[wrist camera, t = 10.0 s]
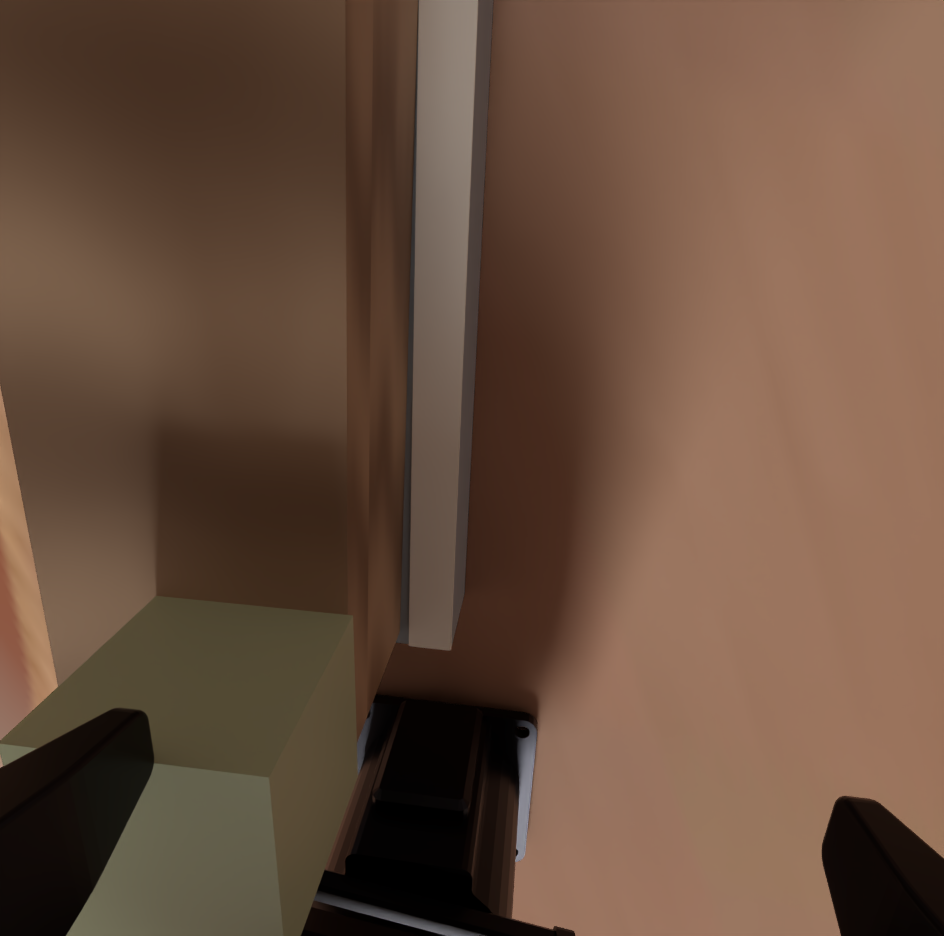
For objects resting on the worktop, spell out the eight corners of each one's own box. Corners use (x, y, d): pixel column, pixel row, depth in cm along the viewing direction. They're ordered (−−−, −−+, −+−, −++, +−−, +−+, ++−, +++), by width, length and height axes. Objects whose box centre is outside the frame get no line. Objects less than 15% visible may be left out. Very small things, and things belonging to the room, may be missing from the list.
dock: (464, 593, 22) (450, 650, 19) (200, 566, 22) (147, 617, 19) (519, -526, 13) (509, -744, 10) (85, -502, 14) (-40, -697, 11)
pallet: (400, 630, 19) (348, 765, 14) (184, 604, 19) (66, 725, 15) (437, -682, 10) (339, -1434, 6) (51, -661, 11) (-329, -1327, 6)
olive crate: (358, 776, 14) (287, 974, 10) (179, 754, 15) (49, 937, 11) (353, 615, 13) (268, 778, 9) (156, 595, 13) (-3, 743, 9)
